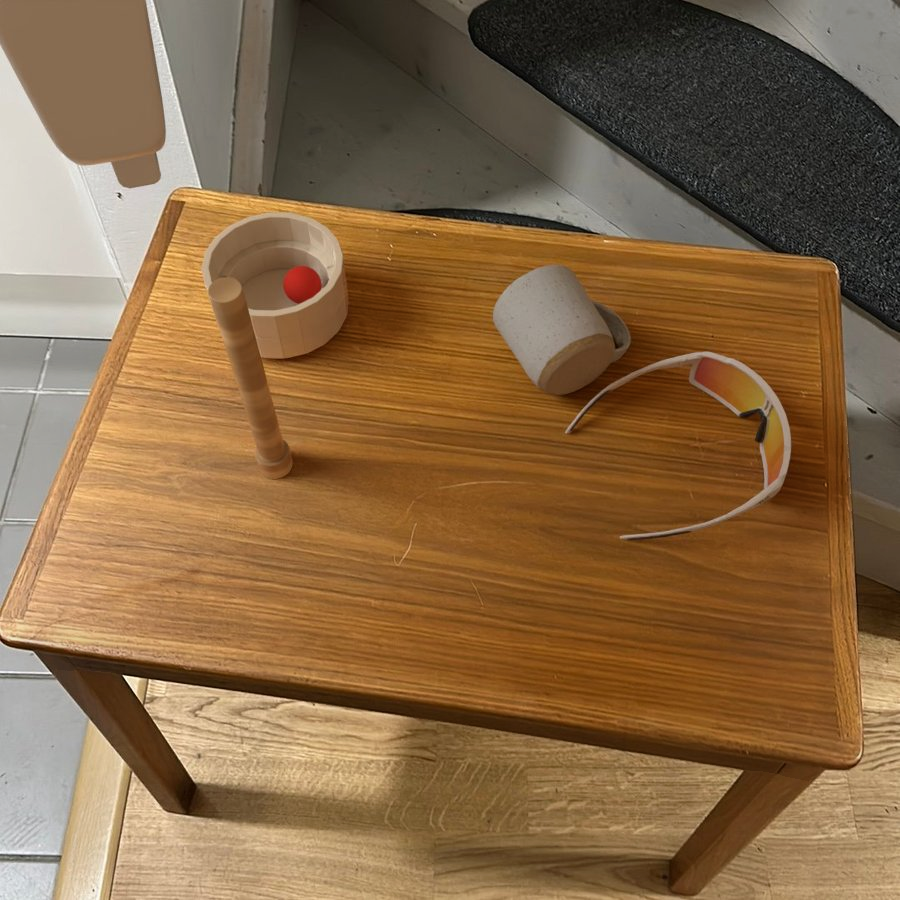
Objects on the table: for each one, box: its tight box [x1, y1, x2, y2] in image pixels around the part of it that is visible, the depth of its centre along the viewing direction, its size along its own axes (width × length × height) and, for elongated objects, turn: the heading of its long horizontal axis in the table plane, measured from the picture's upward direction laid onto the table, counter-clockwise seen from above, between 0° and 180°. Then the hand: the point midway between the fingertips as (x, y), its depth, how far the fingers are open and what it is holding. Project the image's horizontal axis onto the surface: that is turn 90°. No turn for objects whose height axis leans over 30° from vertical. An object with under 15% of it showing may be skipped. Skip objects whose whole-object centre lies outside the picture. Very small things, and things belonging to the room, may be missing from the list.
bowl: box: [201, 211, 350, 359], centre depth 77 cm, size 11×11×6 cm
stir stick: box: [207, 277, 294, 480], centre depth 63 cm, size 3×3×20 cm
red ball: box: [283, 266, 322, 304], centre depth 78 cm, size 3×3×3 cm
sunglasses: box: [564, 351, 792, 541], centre depth 70 cm, size 14×15×5 cm
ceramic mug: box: [492, 264, 632, 396], centre depth 74 cm, size 11×8×8 cm
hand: (128, 107), depth 43 cm, fingers open, 8 cm apart
